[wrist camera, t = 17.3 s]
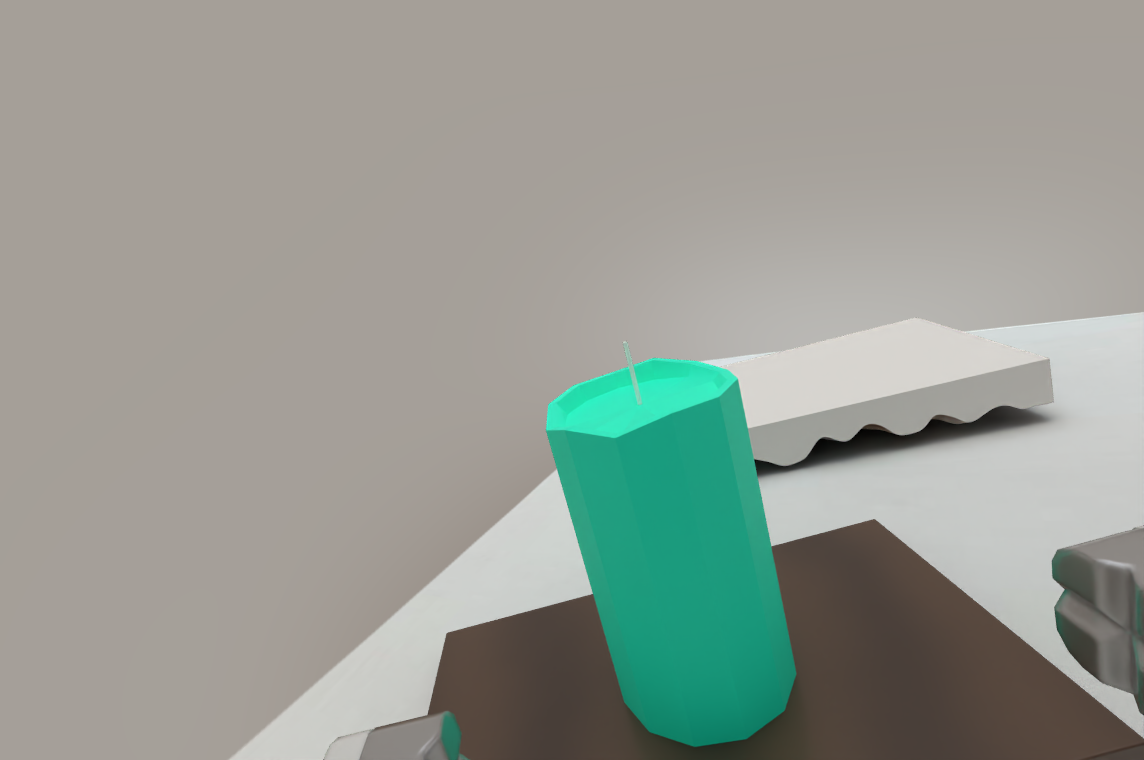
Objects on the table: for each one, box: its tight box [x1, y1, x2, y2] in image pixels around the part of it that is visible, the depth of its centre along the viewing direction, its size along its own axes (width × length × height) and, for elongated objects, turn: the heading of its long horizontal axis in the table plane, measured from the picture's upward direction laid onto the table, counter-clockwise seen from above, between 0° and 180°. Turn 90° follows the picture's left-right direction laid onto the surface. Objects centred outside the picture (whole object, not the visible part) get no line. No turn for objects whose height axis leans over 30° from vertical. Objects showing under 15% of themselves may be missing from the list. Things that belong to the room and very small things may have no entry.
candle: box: [546, 341, 796, 747], centre depth 19 cm, size 6×6×12 cm
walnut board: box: [428, 519, 1144, 760], centre depth 20 cm, size 20×12×1 cm, turn 93°
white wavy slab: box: [720, 318, 1054, 466], centre depth 40 cm, size 15×3×20 cm
